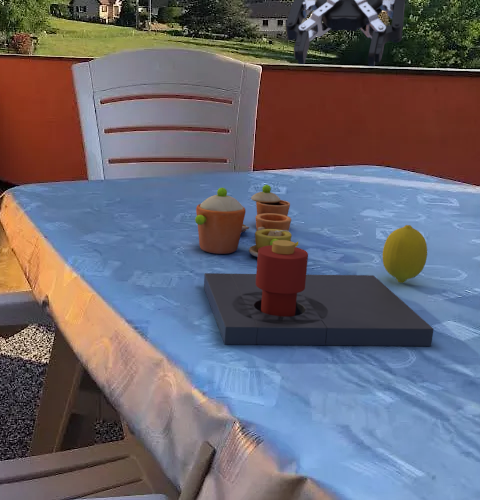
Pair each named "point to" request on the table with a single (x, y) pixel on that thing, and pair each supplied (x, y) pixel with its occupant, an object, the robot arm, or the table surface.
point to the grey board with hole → (316, 313)
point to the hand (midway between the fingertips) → (335, 60)
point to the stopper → (281, 276)
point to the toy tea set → (241, 221)
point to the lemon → (404, 253)
